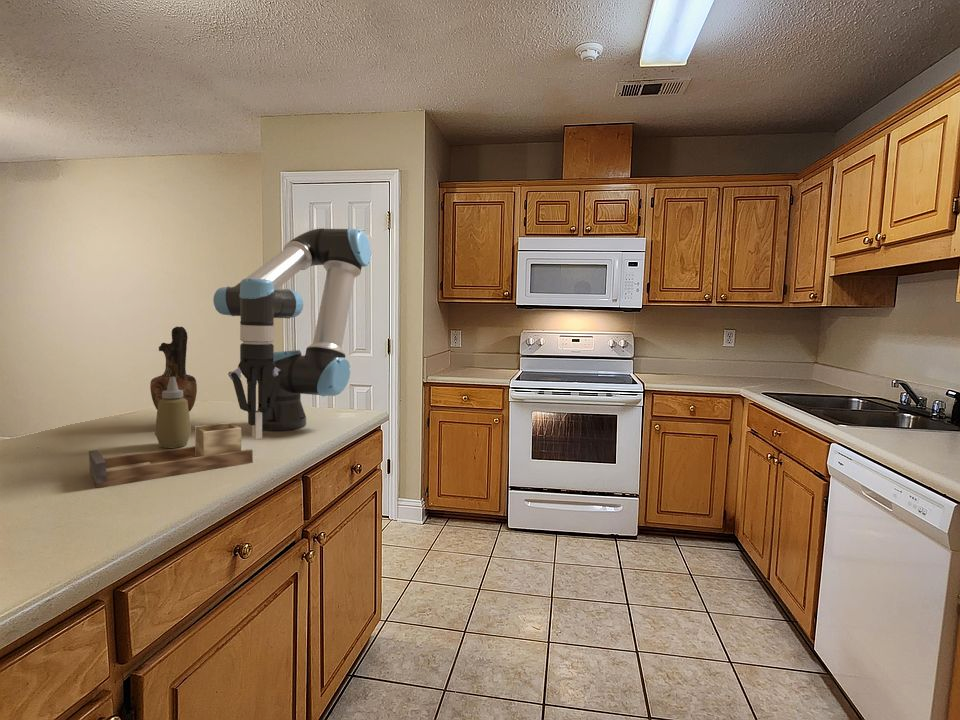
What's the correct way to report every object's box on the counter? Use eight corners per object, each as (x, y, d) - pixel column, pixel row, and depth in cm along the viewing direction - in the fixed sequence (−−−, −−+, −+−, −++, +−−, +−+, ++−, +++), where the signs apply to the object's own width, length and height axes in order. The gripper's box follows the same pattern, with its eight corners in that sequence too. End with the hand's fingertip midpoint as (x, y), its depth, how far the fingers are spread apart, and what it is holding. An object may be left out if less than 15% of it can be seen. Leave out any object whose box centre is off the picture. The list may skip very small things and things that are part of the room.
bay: (237, 452, 132) (237, 432, 131) (252, 462, 124) (252, 441, 123) (89, 473, 112) (89, 451, 111) (96, 488, 104) (96, 463, 103)
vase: (185, 421, 162) (184, 324, 159) (206, 428, 155) (204, 326, 152) (144, 427, 153) (141, 324, 150) (163, 434, 145) (161, 327, 142)
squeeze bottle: (175, 451, 130) (173, 380, 129) (147, 448, 132) (145, 377, 130) (198, 443, 138) (197, 376, 136) (172, 440, 140) (171, 374, 138)
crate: (231, 450, 129) (230, 422, 128) (241, 457, 124) (241, 428, 123) (195, 455, 124) (194, 426, 123) (204, 462, 118) (204, 432, 118)
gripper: (277, 341, 134) (277, 431, 137) (223, 341, 126) (224, 438, 128) (289, 343, 129) (289, 437, 131) (233, 344, 120) (234, 444, 122)
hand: (257, 437), depth 129 cm, fingers closed
